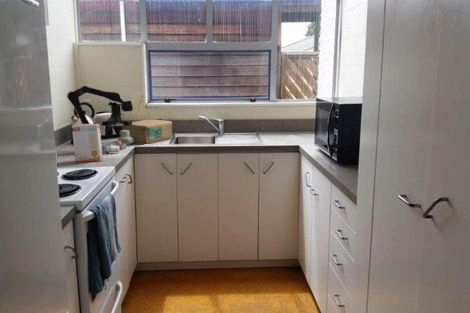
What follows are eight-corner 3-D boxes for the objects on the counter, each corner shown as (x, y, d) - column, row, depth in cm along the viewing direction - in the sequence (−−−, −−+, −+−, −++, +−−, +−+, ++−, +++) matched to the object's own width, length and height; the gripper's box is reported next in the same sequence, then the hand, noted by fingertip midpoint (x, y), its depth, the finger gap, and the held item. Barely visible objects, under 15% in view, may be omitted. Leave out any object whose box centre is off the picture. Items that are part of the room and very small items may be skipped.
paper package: (147, 145, 284) (146, 124, 281) (122, 142, 299) (120, 123, 296) (174, 139, 306) (173, 120, 303) (149, 136, 320) (148, 118, 318)
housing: (95, 154, 256) (95, 145, 255) (102, 151, 264) (101, 143, 263) (105, 154, 255) (104, 145, 254) (110, 151, 263) (110, 143, 262)
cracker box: (103, 159, 242) (99, 123, 237) (100, 161, 236) (96, 124, 231) (78, 160, 241) (75, 124, 237) (75, 162, 235) (71, 125, 231)
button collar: (111, 150, 269) (111, 145, 268) (116, 148, 276) (116, 143, 275) (122, 150, 268) (121, 145, 267) (126, 148, 274) (126, 143, 274)
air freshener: (135, 143, 290) (134, 129, 288) (132, 145, 282) (131, 131, 280) (119, 144, 291) (118, 130, 288) (116, 146, 282) (115, 131, 280)
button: (115, 147, 270) (115, 141, 269) (117, 146, 273) (117, 140, 272) (120, 147, 270) (119, 141, 269) (122, 146, 272) (121, 140, 272)
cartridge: (98, 153, 258) (98, 146, 257) (102, 151, 262) (101, 144, 261) (117, 153, 256) (116, 146, 255) (120, 151, 260) (119, 144, 259)
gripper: (96, 113, 260) (98, 138, 264) (124, 113, 257) (126, 138, 261) (104, 111, 271) (106, 135, 274) (131, 111, 268) (133, 135, 271)
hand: (118, 136), depth 270 cm, fingers closed
